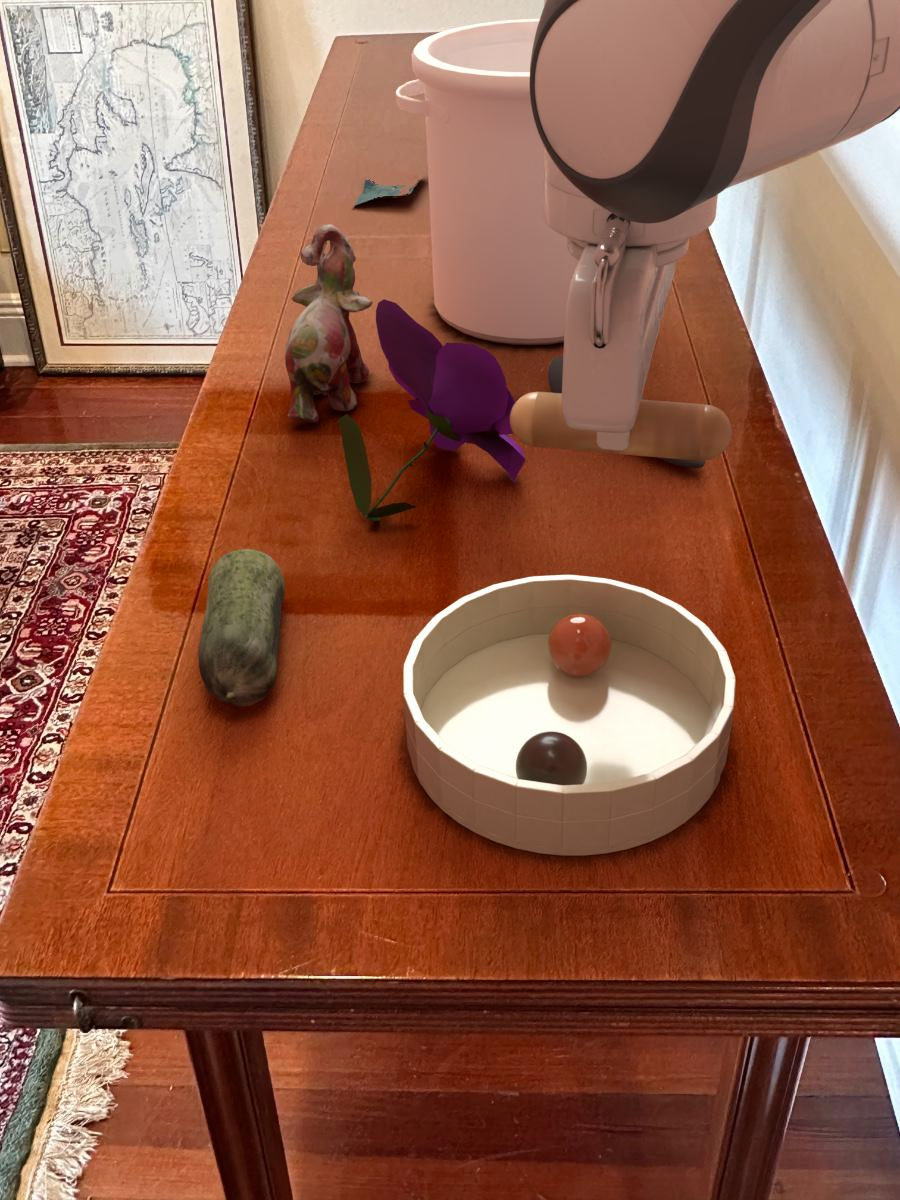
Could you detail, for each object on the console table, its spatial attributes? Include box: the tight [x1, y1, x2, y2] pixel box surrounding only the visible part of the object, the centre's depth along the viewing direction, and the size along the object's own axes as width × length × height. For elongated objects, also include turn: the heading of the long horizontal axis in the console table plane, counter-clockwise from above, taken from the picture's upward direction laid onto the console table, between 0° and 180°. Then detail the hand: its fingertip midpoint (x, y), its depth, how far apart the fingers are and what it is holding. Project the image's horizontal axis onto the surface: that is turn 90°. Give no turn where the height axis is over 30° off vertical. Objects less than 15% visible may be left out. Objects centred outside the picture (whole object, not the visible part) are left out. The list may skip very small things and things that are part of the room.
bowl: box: [402, 574, 737, 857], centre depth 71 cm, size 19×19×5 cm
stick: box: [510, 391, 732, 462], centre depth 69 cm, size 13×3×3 cm, turn 76°
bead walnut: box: [516, 731, 587, 785], centre depth 67 cm, size 4×4×4 cm
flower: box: [336, 298, 526, 522], centre depth 92 cm, size 15×15×14 cm
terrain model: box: [353, 179, 419, 206], centre depth 152 cm, size 13×8×2 cm, turn 170°
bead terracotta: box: [548, 613, 612, 676], centre depth 75 cm, size 4×4×4 cm
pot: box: [395, 18, 579, 346], centre depth 115 cm, size 26×22×25 cm
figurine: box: [284, 223, 373, 423], centre depth 104 cm, size 8×12×15 cm, turn 146°
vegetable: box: [197, 548, 286, 708], centre depth 78 cm, size 14×5×5 cm, turn 4°
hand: (619, 424), depth 69 cm, fingers closed on stick, 3 cm apart
